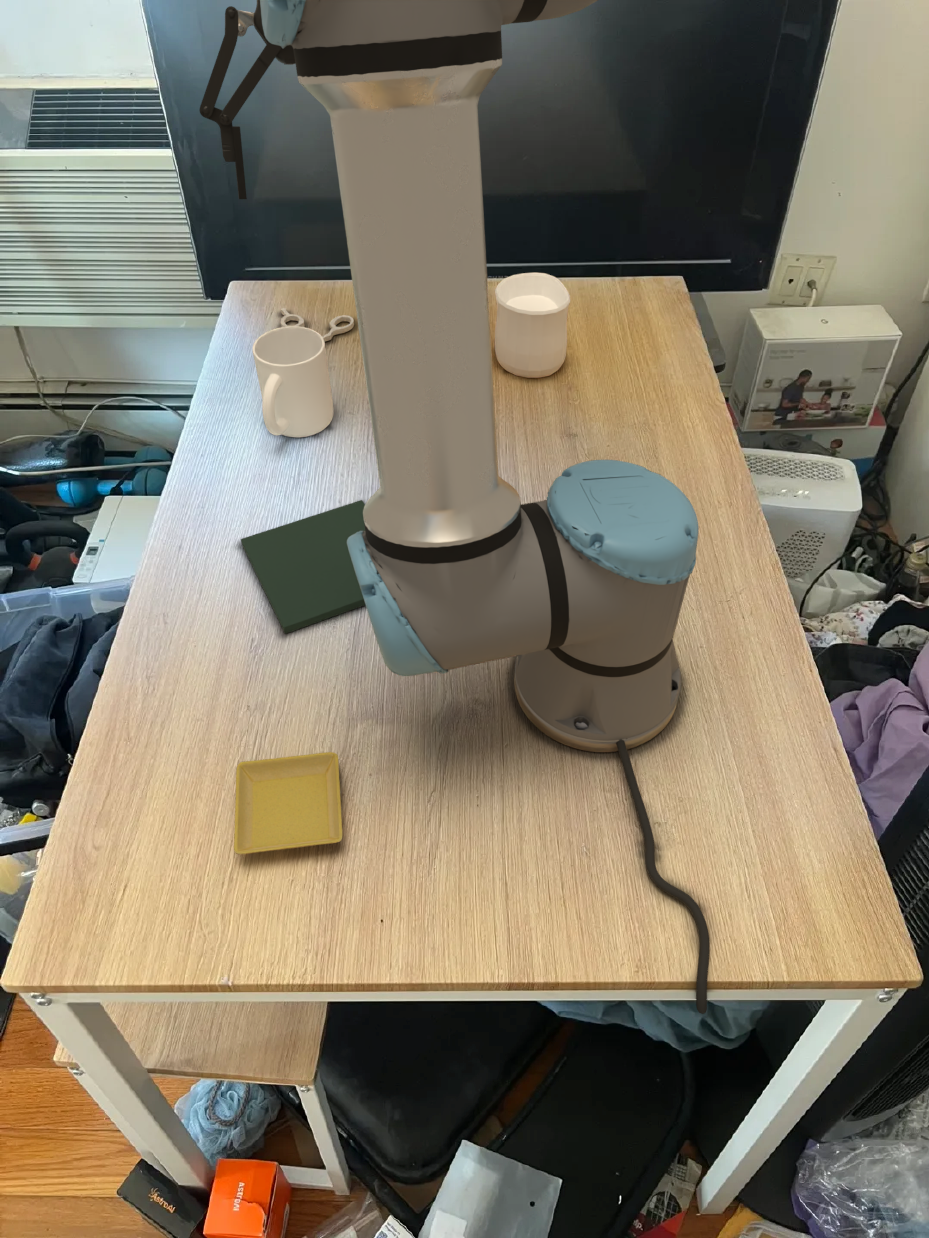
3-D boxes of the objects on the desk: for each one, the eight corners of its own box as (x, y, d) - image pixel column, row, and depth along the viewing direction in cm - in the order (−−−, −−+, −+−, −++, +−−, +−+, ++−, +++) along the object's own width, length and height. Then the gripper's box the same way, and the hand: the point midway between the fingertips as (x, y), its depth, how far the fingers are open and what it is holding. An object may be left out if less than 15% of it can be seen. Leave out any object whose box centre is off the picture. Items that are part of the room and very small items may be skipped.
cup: (523, 331, 126) (526, 263, 118) (582, 357, 121) (589, 289, 114) (478, 360, 121) (478, 292, 114) (537, 389, 116) (542, 320, 109)
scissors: (356, 309, 128) (334, 392, 115) (356, 314, 128) (335, 397, 115) (281, 307, 128) (251, 389, 115) (282, 312, 129) (252, 395, 116)
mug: (305, 464, 107) (292, 390, 99) (241, 451, 109) (224, 376, 101) (344, 405, 114) (335, 332, 107) (284, 394, 116) (271, 321, 108)
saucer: (340, 763, 80) (338, 749, 78) (345, 853, 74) (342, 840, 73) (240, 774, 79) (236, 761, 78) (238, 866, 73) (233, 854, 72)
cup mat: (414, 587, 94) (414, 581, 93) (284, 634, 90) (283, 627, 89) (362, 506, 102) (361, 499, 101) (242, 545, 98) (240, 538, 97)
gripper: (416, -39, 91) (419, 195, 101) (156, -53, 86) (186, 195, 96) (432, -51, 85) (433, 200, 95) (151, -66, 79) (184, 201, 90)
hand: (309, 198), depth 95 cm, fingers open, 13 cm apart
